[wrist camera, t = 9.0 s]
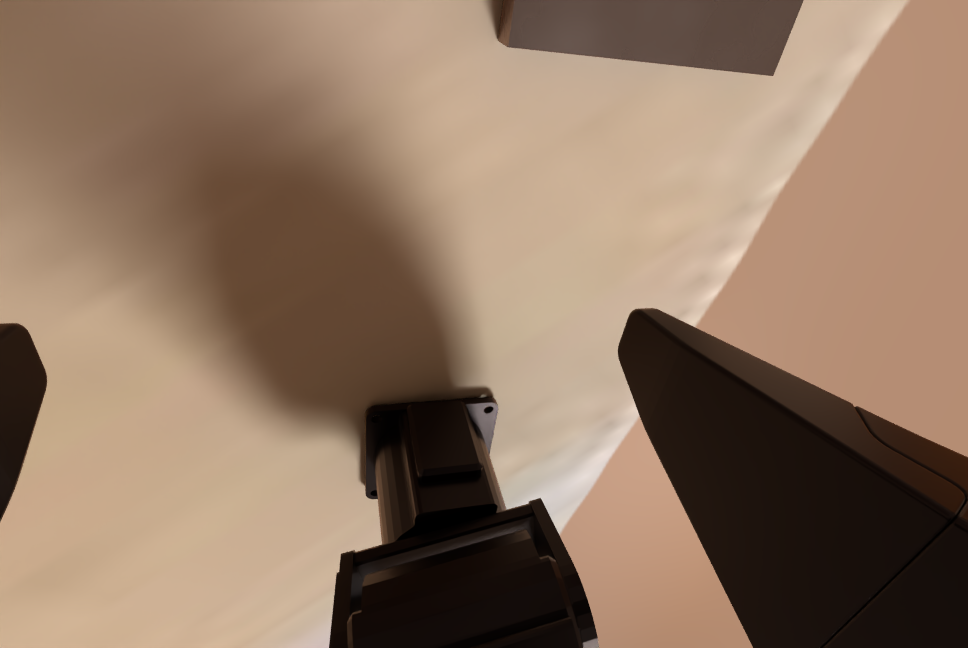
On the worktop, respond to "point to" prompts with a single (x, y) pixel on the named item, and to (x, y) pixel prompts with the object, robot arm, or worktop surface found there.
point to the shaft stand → (656, 30)
